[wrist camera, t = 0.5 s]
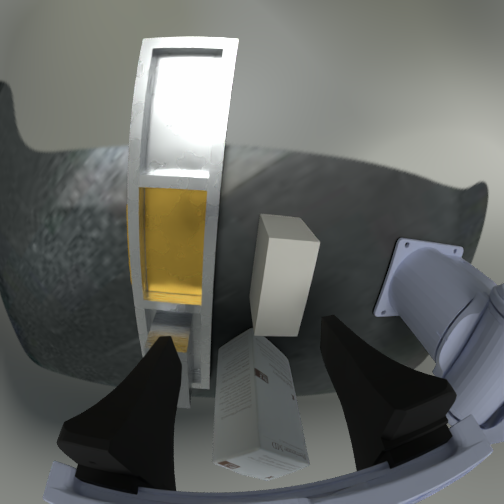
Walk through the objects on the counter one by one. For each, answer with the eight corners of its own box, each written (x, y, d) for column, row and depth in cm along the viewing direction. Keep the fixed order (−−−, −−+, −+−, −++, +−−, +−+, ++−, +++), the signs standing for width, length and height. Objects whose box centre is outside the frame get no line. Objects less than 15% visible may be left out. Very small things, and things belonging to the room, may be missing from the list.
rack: (237, 48, 15) (240, 16, 10) (209, 374, 26) (208, 418, 21) (149, 47, 14) (122, 20, 9) (150, 368, 25) (140, 410, 20)
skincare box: (289, 357, 26) (317, 465, 15) (254, 378, 27) (267, 482, 16) (249, 323, 24) (265, 448, 13) (212, 348, 25) (210, 466, 13)
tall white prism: (299, 217, 20) (320, 242, 16) (284, 297, 23) (297, 336, 18) (259, 213, 20) (269, 237, 15) (249, 296, 23) (254, 335, 18)
